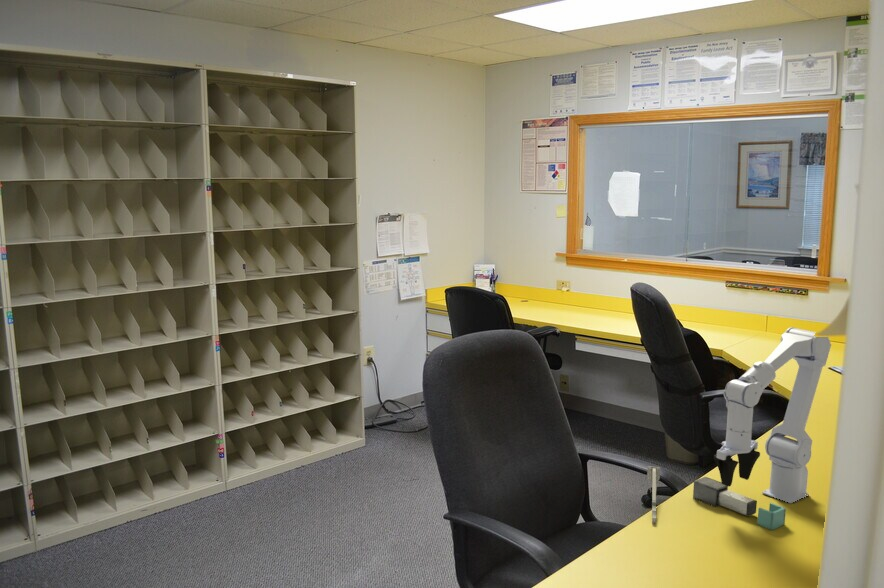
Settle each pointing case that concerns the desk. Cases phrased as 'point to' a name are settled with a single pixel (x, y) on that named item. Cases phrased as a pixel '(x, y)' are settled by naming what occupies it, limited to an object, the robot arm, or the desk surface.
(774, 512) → the socket
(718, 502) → the long grey plank
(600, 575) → the desk surface
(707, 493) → the sleeve
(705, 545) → the desk surface
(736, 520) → the desk surface
